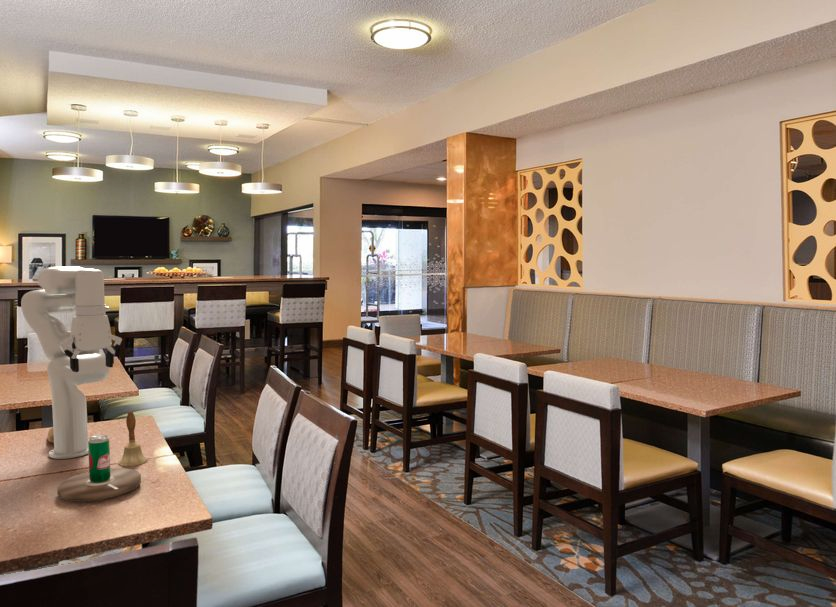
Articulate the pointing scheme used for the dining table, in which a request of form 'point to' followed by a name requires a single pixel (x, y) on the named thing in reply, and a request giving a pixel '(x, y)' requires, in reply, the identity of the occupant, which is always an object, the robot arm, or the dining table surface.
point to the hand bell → (132, 446)
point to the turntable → (99, 485)
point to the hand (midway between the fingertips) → (92, 369)
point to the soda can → (99, 458)
